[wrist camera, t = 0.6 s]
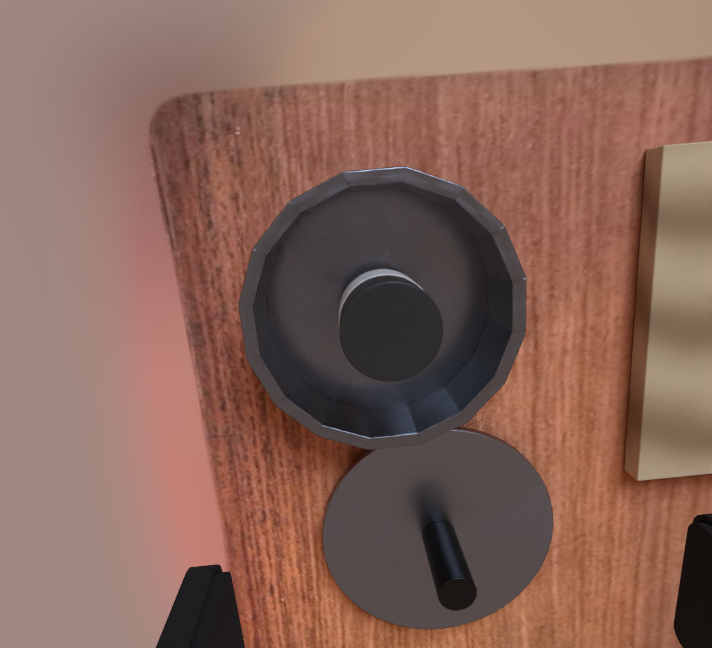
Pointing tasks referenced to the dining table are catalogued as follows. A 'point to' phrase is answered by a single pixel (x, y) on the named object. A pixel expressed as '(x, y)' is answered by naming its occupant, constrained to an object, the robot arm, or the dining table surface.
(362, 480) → the lid
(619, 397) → the dining table surface
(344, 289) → the cylinder
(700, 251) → the board
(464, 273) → the pan
